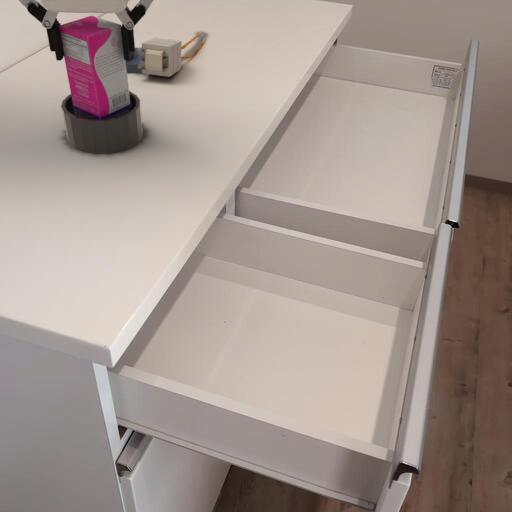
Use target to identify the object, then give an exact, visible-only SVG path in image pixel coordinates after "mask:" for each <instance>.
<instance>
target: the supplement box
mask: <svg viewBox="0 0 512 512" xmlns="http://www.w3.org/2000/svg"><path fill="white" fill-rule="evenodd" d="M121 29H122V24H120V23H117V22H114V21H110V20H107V19H104V18H100V17H98V16H95V15H89V16H85V17H83V18H79V19H76V20H72V21H70V22H67V23H63V24H61V25H59V32H60V37H61V43H62V48H63V54H64V57H63V60H64V64H65V69H66V75H67V80H68V85H69V91H70V94H71V97H72V102H73V107H74V108H75V109H77V110H79V111H81V112H83V113H85V114H87V115H89V116H92V117H94V118H96V119H107V118H109V117H111V116H113V115H115V114H117V113H120V112H122V111H124V110H126V109H128V108H130V107H131V105H130V97H129V91H130V90H129V89H130V88H129V80H128V73H127V70H126V62H125V60H124V54H123V45H122V35H121Z"/></svg>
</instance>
